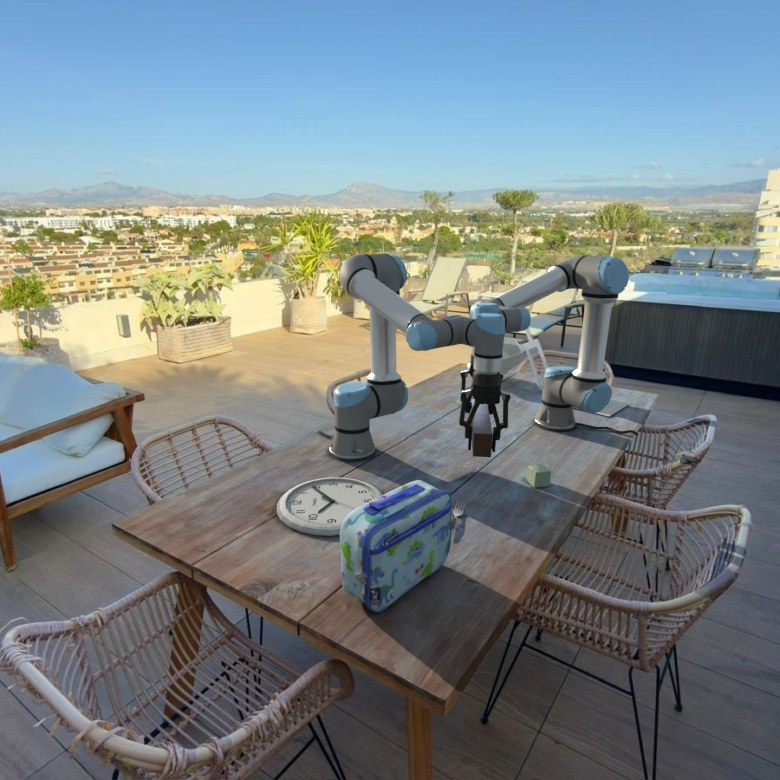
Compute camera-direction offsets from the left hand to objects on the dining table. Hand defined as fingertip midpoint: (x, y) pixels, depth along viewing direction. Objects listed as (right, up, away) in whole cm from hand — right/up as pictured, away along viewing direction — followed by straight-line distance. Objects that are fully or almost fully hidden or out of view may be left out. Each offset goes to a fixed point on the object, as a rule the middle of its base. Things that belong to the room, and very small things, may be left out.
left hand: (481, 449), depth 149 cm
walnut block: (+1, +3, +11) cm, 11 cm away
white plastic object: (+31, +19, +107) cm, 113 cm away
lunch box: (-24, -25, -37) cm, 51 cm away
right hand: (+3, +6, +21) cm, 22 cm away
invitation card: (+65, +10, +77) cm, 102 cm away
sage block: (+18, -11, +9) cm, 23 cm away
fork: (-9, -18, -13) cm, 24 cm away
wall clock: (-42, -15, -6) cm, 45 cm away
